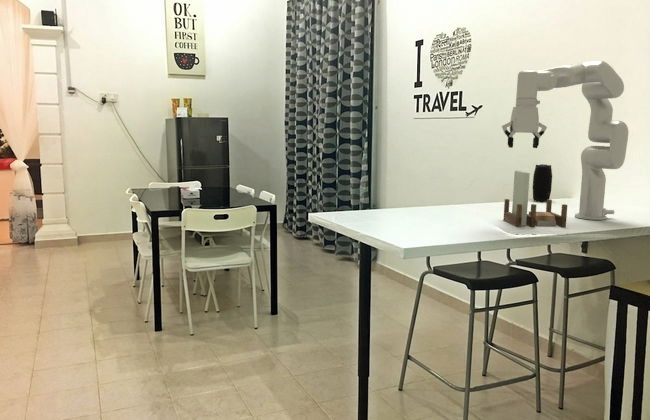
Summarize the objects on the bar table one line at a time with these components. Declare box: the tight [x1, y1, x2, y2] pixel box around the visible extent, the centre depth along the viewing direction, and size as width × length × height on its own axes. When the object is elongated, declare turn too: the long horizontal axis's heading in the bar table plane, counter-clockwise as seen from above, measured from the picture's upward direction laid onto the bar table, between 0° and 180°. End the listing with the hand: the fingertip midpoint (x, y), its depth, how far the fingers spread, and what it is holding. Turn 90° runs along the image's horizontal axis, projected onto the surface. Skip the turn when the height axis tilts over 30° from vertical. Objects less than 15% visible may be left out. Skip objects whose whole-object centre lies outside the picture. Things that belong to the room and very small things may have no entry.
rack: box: [503, 198, 568, 228], centre depth 224 cm, size 19×16×10 cm
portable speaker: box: [532, 163, 553, 203], centre depth 298 cm, size 9×9×20 cm
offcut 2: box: [535, 221, 557, 227], centre depth 224 cm, size 8×10×2 cm
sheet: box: [511, 170, 531, 227], centre depth 223 cm, size 2×11×22 cm, turn 1°
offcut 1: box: [528, 210, 555, 221], centre depth 224 cm, size 8×10×2 cm
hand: (522, 147), depth 220 cm, fingers open, 9 cm apart
